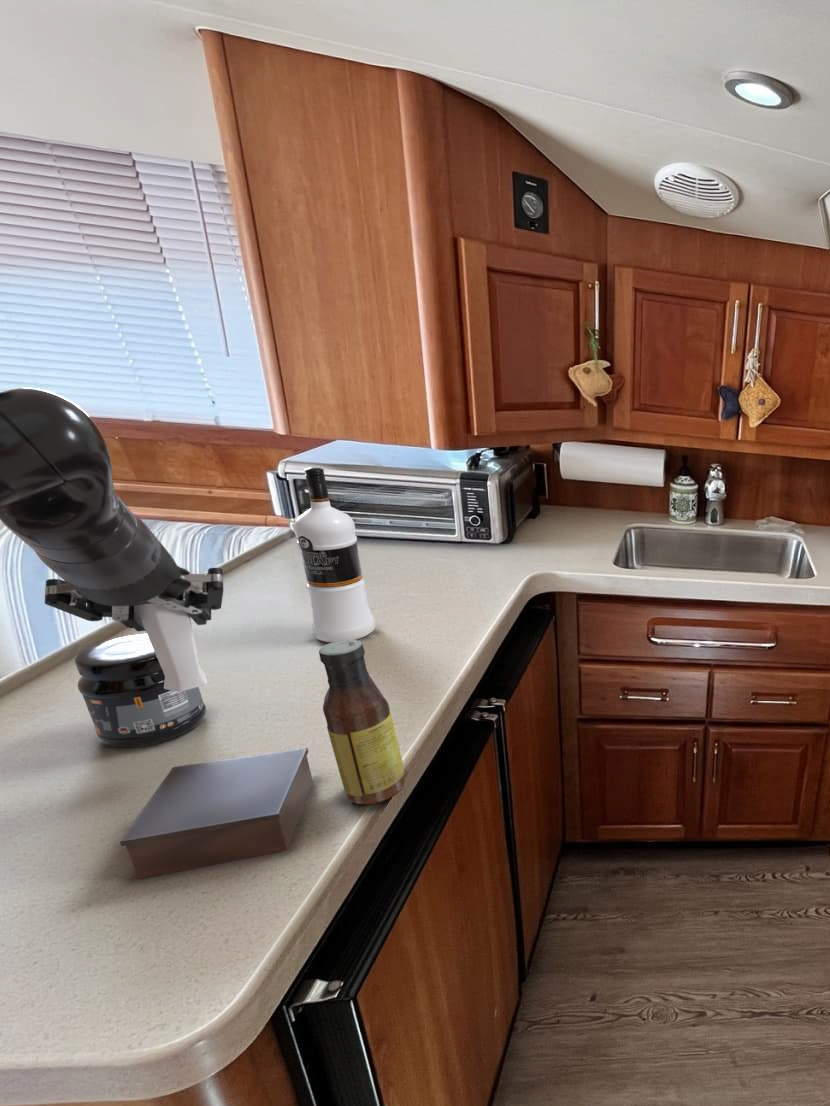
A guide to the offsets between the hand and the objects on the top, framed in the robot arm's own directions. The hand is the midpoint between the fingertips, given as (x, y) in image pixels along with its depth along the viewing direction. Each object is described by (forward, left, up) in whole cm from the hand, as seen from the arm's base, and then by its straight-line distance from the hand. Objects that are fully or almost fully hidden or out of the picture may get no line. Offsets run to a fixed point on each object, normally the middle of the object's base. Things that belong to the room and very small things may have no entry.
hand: (172, 620), depth 74 cm
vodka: (+8, +36, -19) cm, 42 cm away
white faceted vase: (0, -2, -8) cm, 8 cm away
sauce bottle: (+19, -14, -19) cm, 30 cm away
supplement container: (-9, +9, -19) cm, 23 cm away
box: (+6, -16, -19) cm, 25 cm away
